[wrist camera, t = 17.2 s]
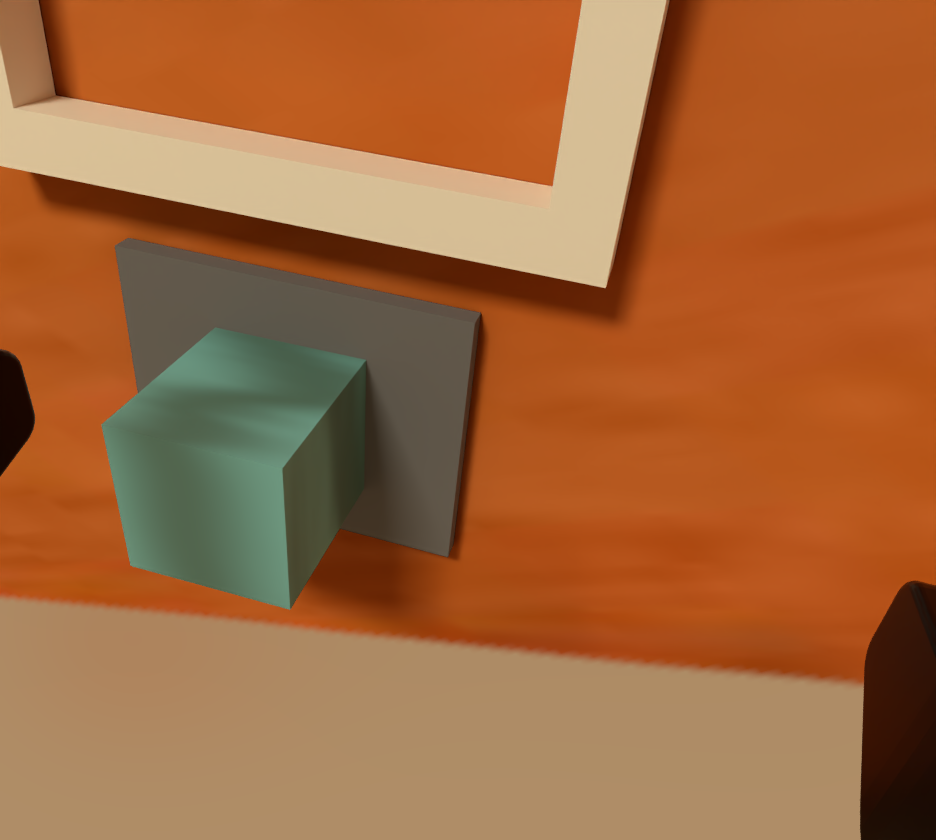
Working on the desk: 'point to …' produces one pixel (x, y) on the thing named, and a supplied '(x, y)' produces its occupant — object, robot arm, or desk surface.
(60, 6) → the desk surface
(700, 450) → the desk surface
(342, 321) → the mat
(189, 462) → the block
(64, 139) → the white flat frame
